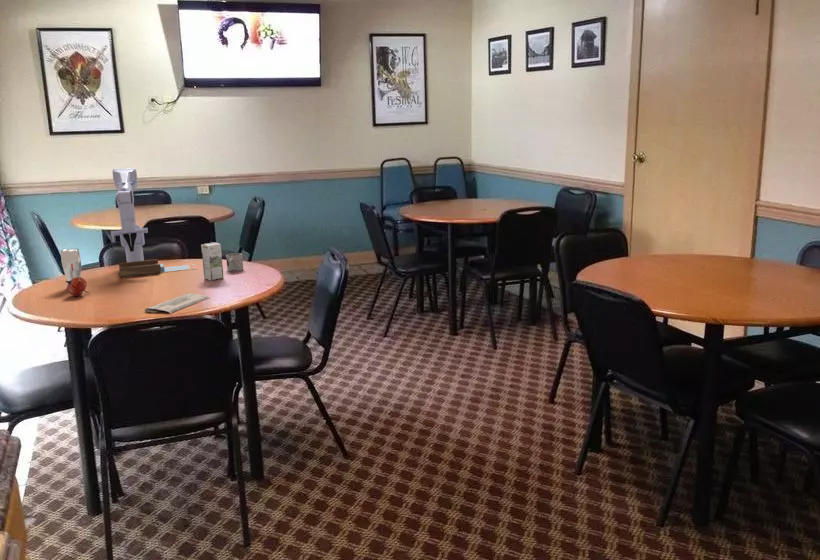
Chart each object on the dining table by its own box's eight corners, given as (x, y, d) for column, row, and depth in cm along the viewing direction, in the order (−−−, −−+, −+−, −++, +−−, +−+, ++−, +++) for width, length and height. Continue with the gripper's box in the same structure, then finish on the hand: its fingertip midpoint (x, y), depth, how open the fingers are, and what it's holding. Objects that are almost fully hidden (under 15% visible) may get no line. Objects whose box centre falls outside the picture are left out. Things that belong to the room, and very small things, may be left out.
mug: (230, 268, 308) (228, 253, 306) (245, 268, 307) (243, 253, 306) (223, 273, 298) (221, 258, 296) (238, 273, 298) (237, 257, 296)
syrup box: (216, 276, 292) (213, 241, 289) (224, 278, 288) (220, 243, 285) (204, 279, 288) (200, 244, 285) (211, 281, 284) (207, 245, 281)
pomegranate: (84, 298, 274) (59, 286, 268) (94, 282, 274) (70, 270, 268) (86, 304, 268) (60, 292, 262) (97, 287, 268) (71, 275, 262)
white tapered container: (72, 285, 287) (66, 248, 284) (88, 285, 286) (82, 248, 283) (61, 289, 280) (56, 251, 277) (78, 289, 279) (72, 251, 276)
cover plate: (159, 269, 314) (158, 263, 313) (194, 265, 320) (194, 259, 319) (161, 274, 304) (160, 267, 304) (197, 270, 310) (196, 263, 309)
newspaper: (182, 297, 261) (181, 291, 261) (210, 303, 257) (210, 296, 257) (138, 313, 241) (138, 306, 240) (168, 319, 237) (168, 312, 236)
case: (119, 272, 309) (118, 263, 308) (158, 268, 315) (157, 259, 314) (120, 277, 297) (119, 268, 296) (160, 273, 303) (159, 264, 302)
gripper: (109, 222, 292) (113, 254, 295) (146, 218, 298) (150, 250, 301) (109, 220, 299) (113, 252, 302) (145, 217, 304) (149, 248, 307)
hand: (131, 251), depth 302 cm, fingers closed
